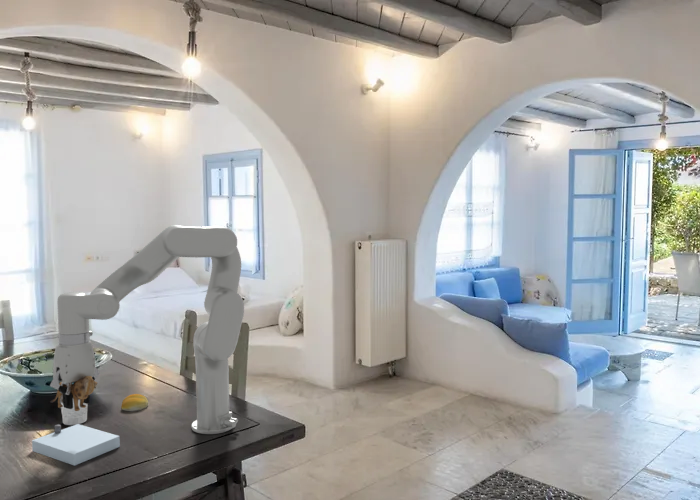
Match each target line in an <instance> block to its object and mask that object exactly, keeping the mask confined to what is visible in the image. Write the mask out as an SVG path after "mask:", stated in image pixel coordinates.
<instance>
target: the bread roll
mask: <svg viewBox="0 0 700 500" xmlns="http://www.w3.org/2000/svg"><path fill="white" fill-rule="evenodd" d="M148 406H149V401H148V399H147V397H146V396H145V395H144V394H140V393H132V394H129V395H127V396H126V397H124V398H123V400H122V402H121V406H120V408H121V410H122V411H124V412H137V411H142V410H144V409H146V408H147V407H148Z"/></svg>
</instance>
